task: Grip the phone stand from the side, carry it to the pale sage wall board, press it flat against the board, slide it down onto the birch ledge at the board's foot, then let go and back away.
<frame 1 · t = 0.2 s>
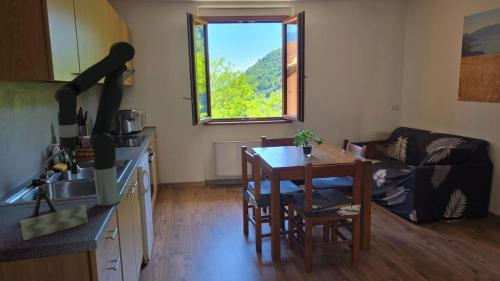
hand: (72, 172, 149), 18 cm above the worktop, tool pointing down, fingers open, 8 cm apart
phone stand: (45, 214, 150), on the worktop
wall board: (52, 224, 138), on the worktop
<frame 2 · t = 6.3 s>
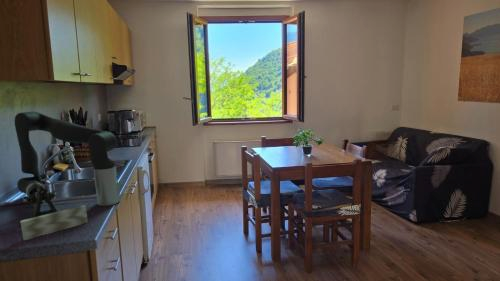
hand: (44, 201, 146), 7 cm above the worktop, tool horizontal, fingers closed on phone stand
phone stand: (45, 214, 150), on the worktop, touching gripper
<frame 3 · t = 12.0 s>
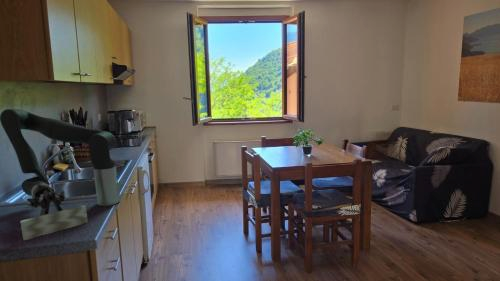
hand: (51, 204, 133), 10 cm above the worktop, tool horizontal, fingers open, 4 cm apart
phone stand: (53, 220, 137), point 2 cm above the worktop, touching wall board
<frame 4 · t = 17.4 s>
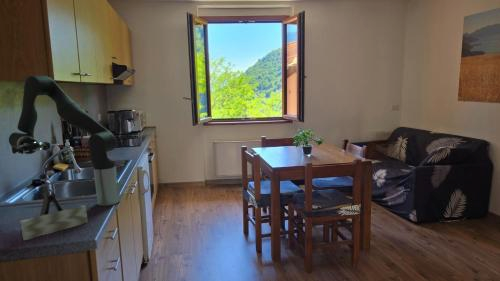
hand: (33, 149, 147), 28 cm above the worktop, tool horizontal, fingers open, 8 cm apart
nothing on the worktop moved.
at the end: phone stand inside the target area (0.1 cm from its centre), point 2.3 cm above the worktop; phone stand tilted 0°; the gripper is holding nothing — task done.
